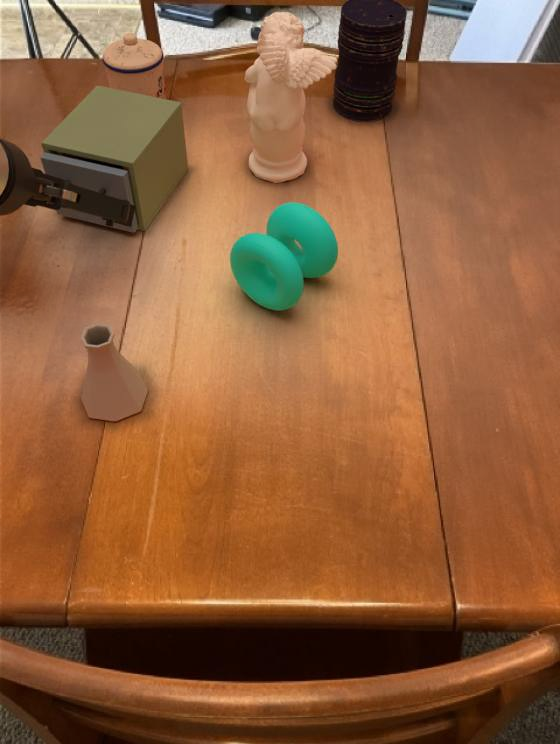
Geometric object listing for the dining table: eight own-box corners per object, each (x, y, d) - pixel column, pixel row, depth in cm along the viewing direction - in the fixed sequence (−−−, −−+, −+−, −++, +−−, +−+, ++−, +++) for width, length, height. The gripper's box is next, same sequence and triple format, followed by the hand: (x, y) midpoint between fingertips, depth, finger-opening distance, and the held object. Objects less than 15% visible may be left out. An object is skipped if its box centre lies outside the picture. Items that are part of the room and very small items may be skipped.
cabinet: (145, 231, 91) (132, 163, 82) (61, 211, 93) (41, 142, 85) (188, 169, 99) (181, 102, 91) (110, 152, 102) (96, 85, 93)
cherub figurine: (267, 138, 104) (268, -14, 87) (342, 160, 101) (358, 6, 84) (230, 181, 98) (223, 26, 80) (309, 206, 95) (319, 49, 77)
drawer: (118, 254, 86) (106, 197, 79) (39, 234, 88) (20, 177, 82) (176, 174, 97) (169, 118, 90) (104, 158, 99) (92, 102, 92)
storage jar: (320, 108, 110) (327, 13, 98) (351, 83, 115) (361, -11, 103) (373, 129, 107) (387, 33, 95) (403, 102, 112) (420, 7, 100)
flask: (150, 418, 72) (136, 358, 64) (80, 427, 71) (57, 367, 63) (147, 366, 76) (133, 304, 69) (81, 373, 76) (60, 311, 68)
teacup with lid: (171, 121, 107) (162, 48, 98) (112, 126, 106) (98, 52, 97) (166, 82, 114) (157, 10, 105) (111, 86, 113) (97, 14, 104)
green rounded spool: (226, 291, 84) (222, 228, 76) (276, 248, 89) (277, 185, 81) (291, 328, 80) (294, 266, 72) (339, 282, 85) (346, 218, 77)
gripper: (-131, 184, 68) (1, 214, 90) (80, 237, 64) (166, 255, 85) (-119, 108, 67) (11, 157, 89) (95, 157, 63) (179, 196, 84)
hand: (87, 205), depth 87 cm, fingers closed on drawer, 11 cm apart
